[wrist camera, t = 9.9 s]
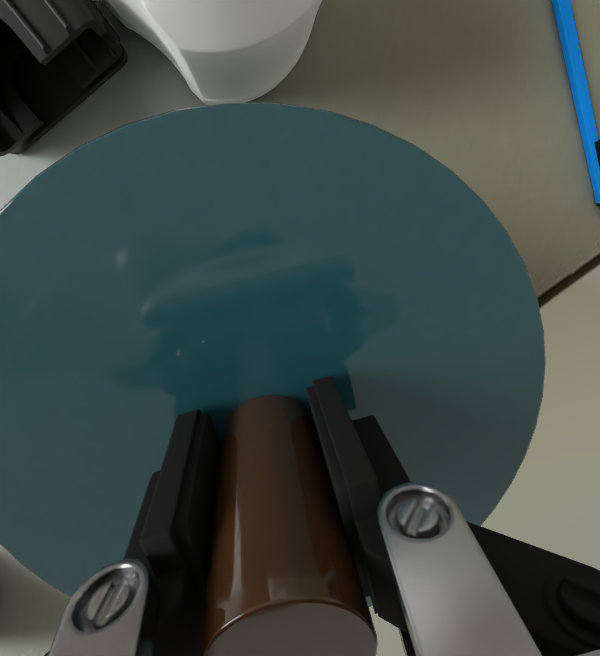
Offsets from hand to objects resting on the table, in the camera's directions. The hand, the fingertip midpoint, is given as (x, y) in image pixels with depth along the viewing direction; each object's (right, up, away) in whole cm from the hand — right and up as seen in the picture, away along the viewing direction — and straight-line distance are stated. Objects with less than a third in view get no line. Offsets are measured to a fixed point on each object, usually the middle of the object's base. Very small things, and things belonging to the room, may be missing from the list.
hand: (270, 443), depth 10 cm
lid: (0, 0, +1) cm, 1 cm away
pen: (+19, +19, +16) cm, 31 cm away
